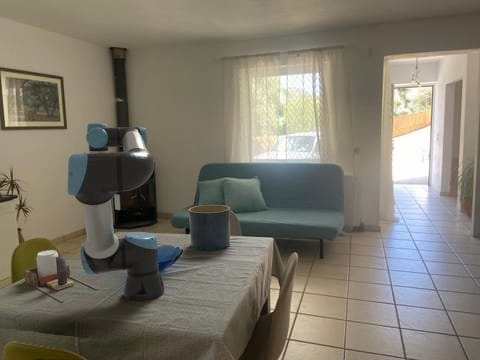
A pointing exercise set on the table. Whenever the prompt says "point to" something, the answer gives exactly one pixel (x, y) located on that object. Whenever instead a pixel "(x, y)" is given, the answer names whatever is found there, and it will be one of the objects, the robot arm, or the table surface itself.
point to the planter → (209, 227)
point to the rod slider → (58, 276)
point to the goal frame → (35, 275)
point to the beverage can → (46, 263)
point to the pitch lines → (59, 298)
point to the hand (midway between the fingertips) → (103, 212)
